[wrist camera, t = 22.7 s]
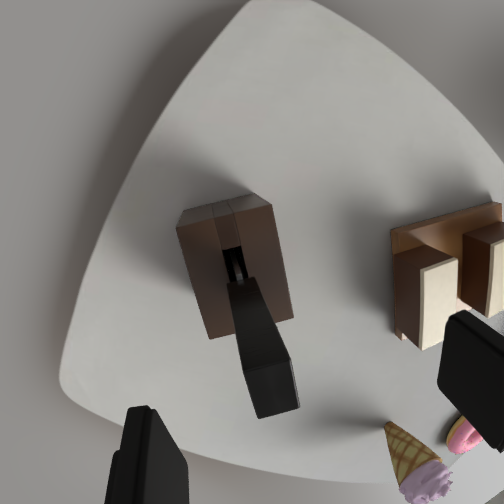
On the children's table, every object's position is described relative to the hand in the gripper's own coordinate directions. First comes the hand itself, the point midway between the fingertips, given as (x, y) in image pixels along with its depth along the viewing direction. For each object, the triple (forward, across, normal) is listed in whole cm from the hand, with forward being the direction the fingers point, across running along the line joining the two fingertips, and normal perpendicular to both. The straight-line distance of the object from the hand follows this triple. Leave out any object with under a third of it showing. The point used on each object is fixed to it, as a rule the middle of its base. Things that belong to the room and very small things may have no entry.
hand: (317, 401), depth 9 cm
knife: (+20, +1, +1) cm, 20 cm away
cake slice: (+18, -15, +8) cm, 25 cm away
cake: (+18, -26, +8) cm, 33 cm away
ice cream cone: (+19, -14, +31) cm, 39 cm away
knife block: (+20, +1, +1) cm, 20 cm away
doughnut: (+19, -31, +42) cm, 55 cm away
